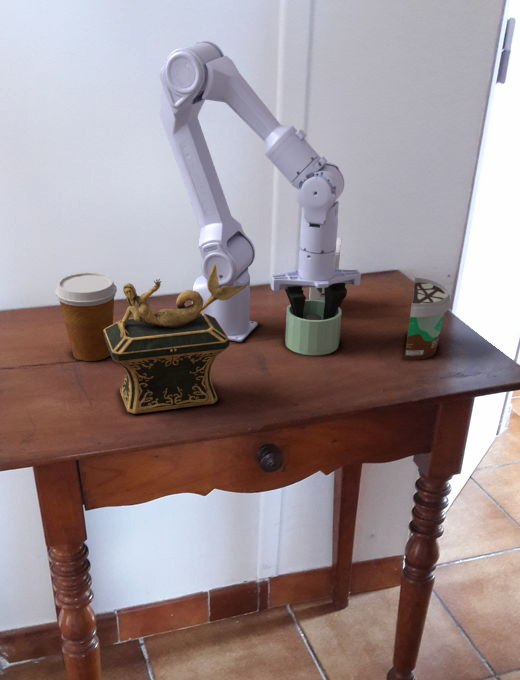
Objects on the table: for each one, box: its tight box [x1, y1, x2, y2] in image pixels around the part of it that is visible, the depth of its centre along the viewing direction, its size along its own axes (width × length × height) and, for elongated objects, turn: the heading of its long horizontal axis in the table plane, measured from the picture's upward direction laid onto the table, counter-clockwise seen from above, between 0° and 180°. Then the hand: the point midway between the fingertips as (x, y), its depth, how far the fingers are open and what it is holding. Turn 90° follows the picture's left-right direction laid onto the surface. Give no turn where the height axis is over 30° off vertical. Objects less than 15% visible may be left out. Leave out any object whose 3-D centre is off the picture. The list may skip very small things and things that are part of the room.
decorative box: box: [103, 263, 246, 415], centre depth 122 cm, size 20×10×20 cm, turn 107°
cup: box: [284, 299, 342, 356], centre depth 142 cm, size 9×9×6 cm
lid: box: [305, 314, 321, 320], centre depth 142 cm, size 5×5×4 cm
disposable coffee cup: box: [54, 271, 118, 362], centre depth 136 cm, size 10×10×12 cm
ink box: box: [308, 237, 343, 301], centre depth 153 cm, size 9×5×12 cm, turn 172°
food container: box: [404, 277, 451, 360], centre depth 140 cm, size 12×6×10 cm, turn 168°
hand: (312, 328), depth 142 cm, fingers closed on cup, 4 cm apart
